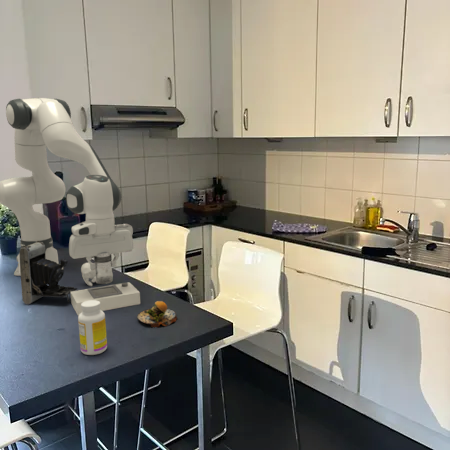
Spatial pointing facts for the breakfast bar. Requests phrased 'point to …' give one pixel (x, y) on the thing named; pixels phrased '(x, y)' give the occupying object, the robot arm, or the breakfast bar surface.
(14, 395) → the breakfast bar surface
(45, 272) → the vintage camera
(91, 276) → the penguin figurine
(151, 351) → the breakfast bar surface
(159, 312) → the burger
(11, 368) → the breakfast bar surface
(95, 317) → the supplement bottle
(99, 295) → the camera body
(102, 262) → the lens
